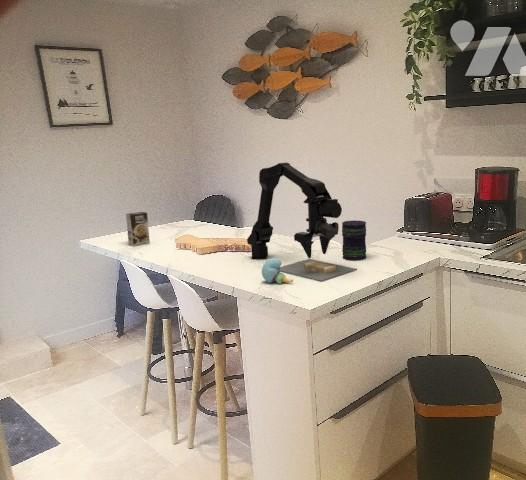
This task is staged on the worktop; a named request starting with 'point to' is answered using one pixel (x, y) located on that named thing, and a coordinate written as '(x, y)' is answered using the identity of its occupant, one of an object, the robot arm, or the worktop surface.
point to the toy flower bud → (274, 271)
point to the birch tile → (319, 267)
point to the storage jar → (354, 240)
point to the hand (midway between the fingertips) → (317, 256)
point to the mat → (299, 271)
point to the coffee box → (137, 228)
